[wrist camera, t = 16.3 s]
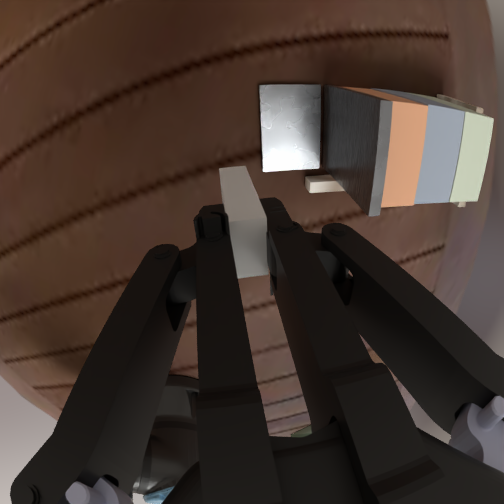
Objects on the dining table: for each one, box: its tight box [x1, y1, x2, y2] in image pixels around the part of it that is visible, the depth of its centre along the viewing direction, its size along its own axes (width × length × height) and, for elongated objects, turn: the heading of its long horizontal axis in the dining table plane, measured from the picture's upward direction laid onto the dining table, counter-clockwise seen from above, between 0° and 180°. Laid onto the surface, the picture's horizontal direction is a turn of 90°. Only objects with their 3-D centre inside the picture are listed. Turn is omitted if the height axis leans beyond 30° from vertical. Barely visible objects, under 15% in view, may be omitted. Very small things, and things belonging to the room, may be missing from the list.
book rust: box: [343, 87, 428, 207], centre depth 25 cm, size 4×9×10 cm, turn 2°
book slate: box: [371, 88, 465, 204], centre depth 25 cm, size 4×9×10 cm, turn 3°
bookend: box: [259, 84, 393, 216], centre depth 24 cm, size 8×9×11 cm
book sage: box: [406, 92, 494, 202], centre depth 26 cm, size 4×9×10 cm, turn 2°
